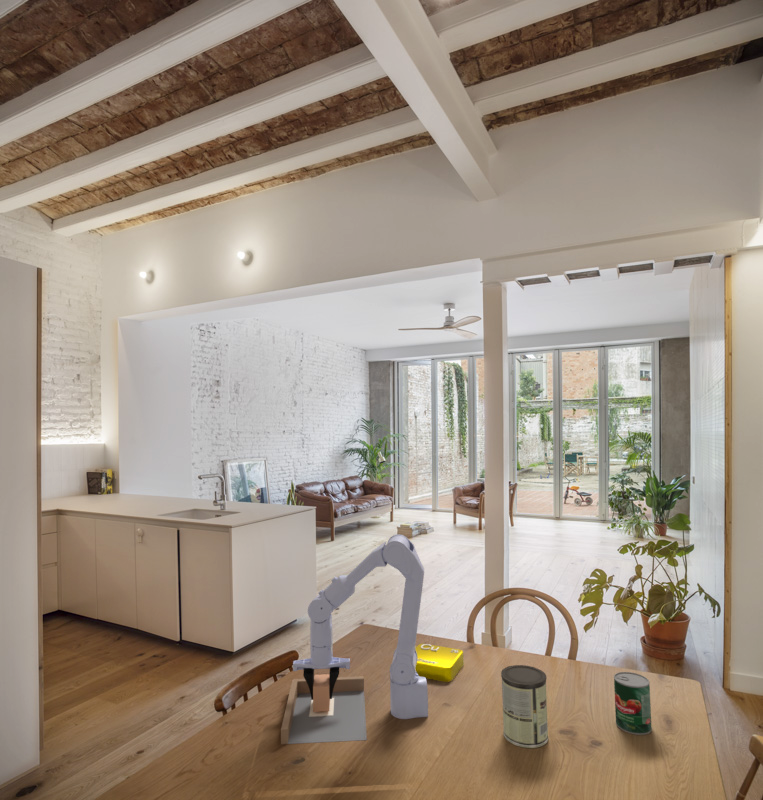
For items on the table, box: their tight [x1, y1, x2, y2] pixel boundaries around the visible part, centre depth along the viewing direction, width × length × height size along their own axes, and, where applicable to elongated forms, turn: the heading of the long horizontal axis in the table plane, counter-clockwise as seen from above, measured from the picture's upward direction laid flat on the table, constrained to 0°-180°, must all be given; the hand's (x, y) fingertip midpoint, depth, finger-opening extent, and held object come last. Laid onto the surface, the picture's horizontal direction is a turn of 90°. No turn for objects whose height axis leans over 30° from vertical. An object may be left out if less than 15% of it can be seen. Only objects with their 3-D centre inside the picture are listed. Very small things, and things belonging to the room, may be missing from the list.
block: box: [313, 673, 330, 712], centre depth 141 cm, size 7×4×6 cm, turn 3°
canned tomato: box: [613, 671, 653, 736], centre depth 132 cm, size 8×8×11 cm
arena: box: [280, 675, 368, 745], centre depth 138 cm, size 20×26×4 cm
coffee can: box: [500, 664, 549, 749], centre depth 128 cm, size 10×10×14 cm
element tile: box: [415, 643, 465, 683], centre depth 165 cm, size 15×15×5 cm
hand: (322, 697), depth 141 cm, fingers closed on block, 4 cm apart
